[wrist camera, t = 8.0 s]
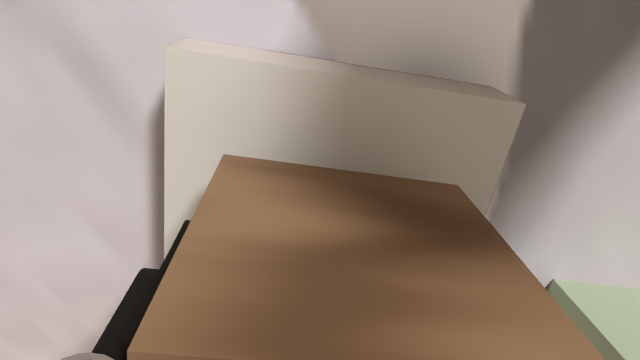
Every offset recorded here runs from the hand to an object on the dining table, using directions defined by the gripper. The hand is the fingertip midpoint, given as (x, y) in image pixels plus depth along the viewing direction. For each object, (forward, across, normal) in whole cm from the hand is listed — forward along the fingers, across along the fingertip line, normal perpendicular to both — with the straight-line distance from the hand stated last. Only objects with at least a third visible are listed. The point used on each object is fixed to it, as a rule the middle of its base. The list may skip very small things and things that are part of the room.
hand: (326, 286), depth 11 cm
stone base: (+5, 0, 0) cm, 5 cm away
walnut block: (+1, 0, 0) cm, 1 cm away
